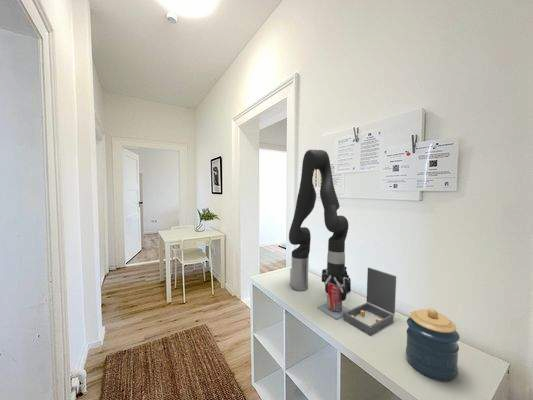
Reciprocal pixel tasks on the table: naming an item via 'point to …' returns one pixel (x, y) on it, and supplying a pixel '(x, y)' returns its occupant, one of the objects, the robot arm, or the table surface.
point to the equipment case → (375, 302)
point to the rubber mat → (331, 313)
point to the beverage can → (334, 297)
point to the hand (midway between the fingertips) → (335, 296)
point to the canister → (432, 344)
